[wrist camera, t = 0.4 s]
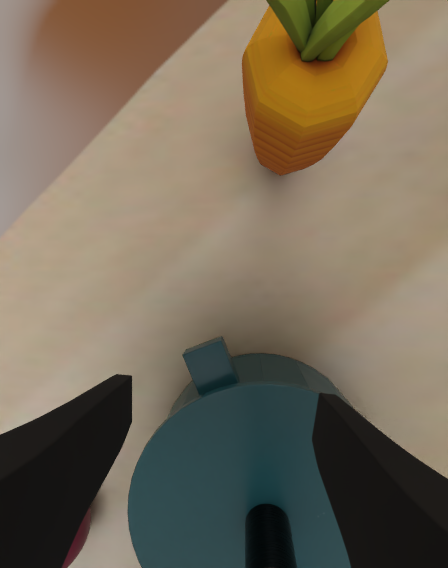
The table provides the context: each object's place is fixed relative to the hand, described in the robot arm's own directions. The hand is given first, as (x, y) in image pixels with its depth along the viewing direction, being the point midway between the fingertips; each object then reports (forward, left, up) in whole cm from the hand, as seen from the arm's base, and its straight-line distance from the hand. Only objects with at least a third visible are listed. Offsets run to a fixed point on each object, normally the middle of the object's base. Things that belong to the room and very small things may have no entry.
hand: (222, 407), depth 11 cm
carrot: (+12, +3, -11) cm, 17 cm away
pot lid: (-7, -6, -5) cm, 10 cm away
